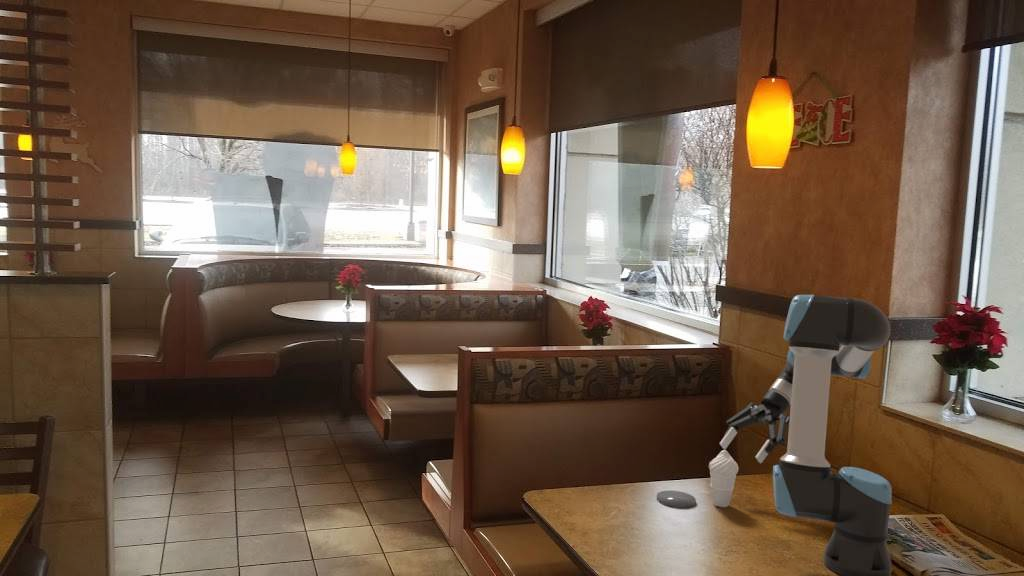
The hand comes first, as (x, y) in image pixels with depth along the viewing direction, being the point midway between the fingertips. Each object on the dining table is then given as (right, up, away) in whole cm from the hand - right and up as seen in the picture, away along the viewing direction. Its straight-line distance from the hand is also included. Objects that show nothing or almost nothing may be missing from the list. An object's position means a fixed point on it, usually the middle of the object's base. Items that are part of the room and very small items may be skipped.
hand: (739, 453), depth 234 cm
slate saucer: (-19, -13, -2) cm, 23 cm away
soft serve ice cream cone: (-6, -14, -3) cm, 16 cm away
